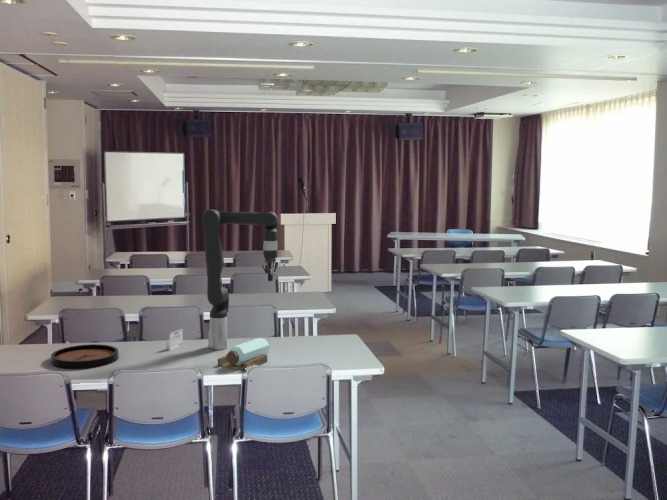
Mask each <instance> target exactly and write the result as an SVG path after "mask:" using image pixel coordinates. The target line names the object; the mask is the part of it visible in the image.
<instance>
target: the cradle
mask: <svg viewBox="0 0 667 500" xmlns="http://www.w3.org/2000/svg"><path fill="white" fill-rule="evenodd" d="M267 362H268V354H267V355H265V354H263V355H261V356H258V357H256V358H254V359H252V360H250V361H247V362H245V363H243V365H241V366H237V365H233V364H229V362H228V361H227V354H226V355H224V356H221V357H219V358H217V366H218V367H223V368H228V369H235V370H238V371H239V370H240V371H244V370H245V368H247V367H249V366H253V365H259V366H261V365H263V364H265V363H267Z"/></svg>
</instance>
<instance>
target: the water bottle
mask: <svg viewBox="0 0 667 500" xmlns="http://www.w3.org/2000/svg"><path fill="white" fill-rule="evenodd" d="M269 353H270V344H269V342H268V340H267V339H266V338H261V337H258V338H255V339H253V340H249V341H246V342H243V343H240V344H236V345H234V346H232V348H231V349H230V350H229V351H228V353H226V355H227V361H228V362H229V364H233V365H237V366H241V365H243V363H245V362H247V361H250V360H252V359H254V358H256V357H258V356H261V355H263V354H265V355H267V356H268V354H269Z"/></svg>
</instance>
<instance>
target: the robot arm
mask: <svg viewBox="0 0 667 500" xmlns="http://www.w3.org/2000/svg"><path fill="white" fill-rule="evenodd" d="M278 220H279V219H278V215H277V213H275V212H274V211H268V212H257V211H237V212H236V211H232V212H231V211H221V210H217V209H213V208H211V209H207V210H205V211H204V212H203V213H202V215H201V222H202V223H201V224H202V227H203V232H204V253H205V266H206V267H205V268H206V276H207V277H206V278H207V280H206V281H207V283H206V285H207V288H206V289H207V291H206V293H207V295H206V297H207V301H208V303H209V304H210V305H212V308H211V310H210V311H209V330H208V332H207V333H208V336H207V337H208V338H207V339H208V341H207V344H208V345H207V348H208V349H211V350H218V351H219V350H225V349H227V348H228V312H229V307H230V306H229V305H230V294H229V291H228V289H227V288H226V287H225V286H221V276H222V271H223V268H224V253H223V247H222V243H221V240H220V233H219V225H226V224H227V225H229V224H230V225H231V224H232V225H241V226H243V225H244V226H245V225H246V226H257V225H259V226H264V232H263V249H262V251H263V257H262V258H264V264H262V266H261V267H262V269H263V270H264V273H265V274H267V281H268V282H273V280H274V273H276V271H277V268H278V265H279V262H277V261H276V260H277V258H278V249H279V248H278V230H277V229H278Z"/></svg>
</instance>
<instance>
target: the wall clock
mask: <svg viewBox="0 0 667 500" xmlns="http://www.w3.org/2000/svg"><path fill="white" fill-rule="evenodd" d="M119 357H120V356H119V349H118V348H117V347H116V346H112V345H108V344H99V343H96V344H93V343H92V344H79V345H73V346H67V347H63V348H60V349H58V350H56V351H53V352H52V353H51V354H50V364H51V365H52V366H53V367H55V368H58V369H64V370H65V369H66V370H86V369H88V370H89V369H95V368H99V367H105V366H108V365H110V364H113V363H115V362H117V361H118V360H119Z"/></svg>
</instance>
